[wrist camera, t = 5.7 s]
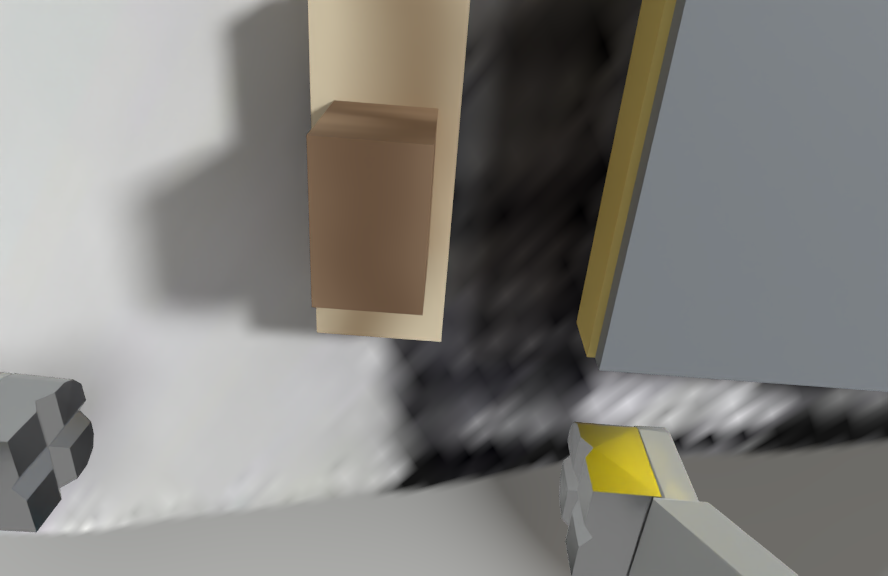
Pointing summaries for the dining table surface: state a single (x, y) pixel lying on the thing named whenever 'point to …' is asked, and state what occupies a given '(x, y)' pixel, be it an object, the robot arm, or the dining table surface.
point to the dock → (747, 197)
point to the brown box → (371, 206)
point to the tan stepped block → (406, 84)
